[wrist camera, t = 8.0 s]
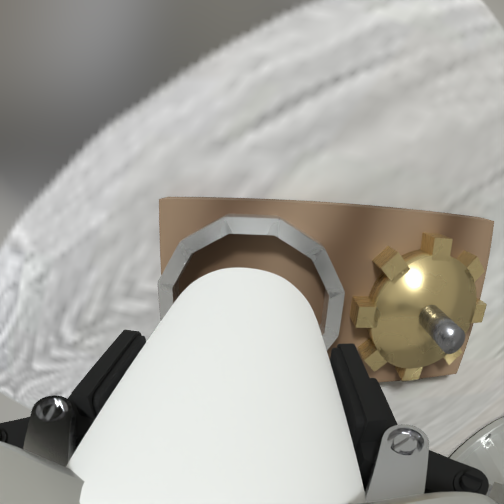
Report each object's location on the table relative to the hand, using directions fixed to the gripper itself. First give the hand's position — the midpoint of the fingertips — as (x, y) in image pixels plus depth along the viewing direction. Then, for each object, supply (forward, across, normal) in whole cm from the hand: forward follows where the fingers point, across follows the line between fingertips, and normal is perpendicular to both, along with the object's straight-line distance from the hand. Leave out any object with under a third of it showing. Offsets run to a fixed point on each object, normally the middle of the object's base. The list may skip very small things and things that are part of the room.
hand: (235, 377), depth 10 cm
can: (+3, 0, 0) cm, 3 cm away
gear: (+7, -10, 0) cm, 12 cm away
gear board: (+8, -5, 0) cm, 10 cm away
